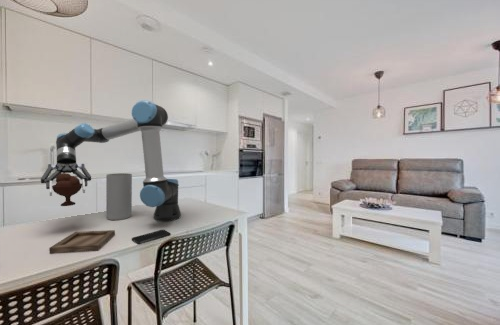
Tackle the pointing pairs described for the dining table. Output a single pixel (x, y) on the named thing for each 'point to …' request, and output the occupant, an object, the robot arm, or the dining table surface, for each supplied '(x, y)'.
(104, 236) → the walnut tray
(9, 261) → the dining table surface
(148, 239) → the phone
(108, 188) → the cylinder vase
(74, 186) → the ice cream bowl
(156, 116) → the robot arm
